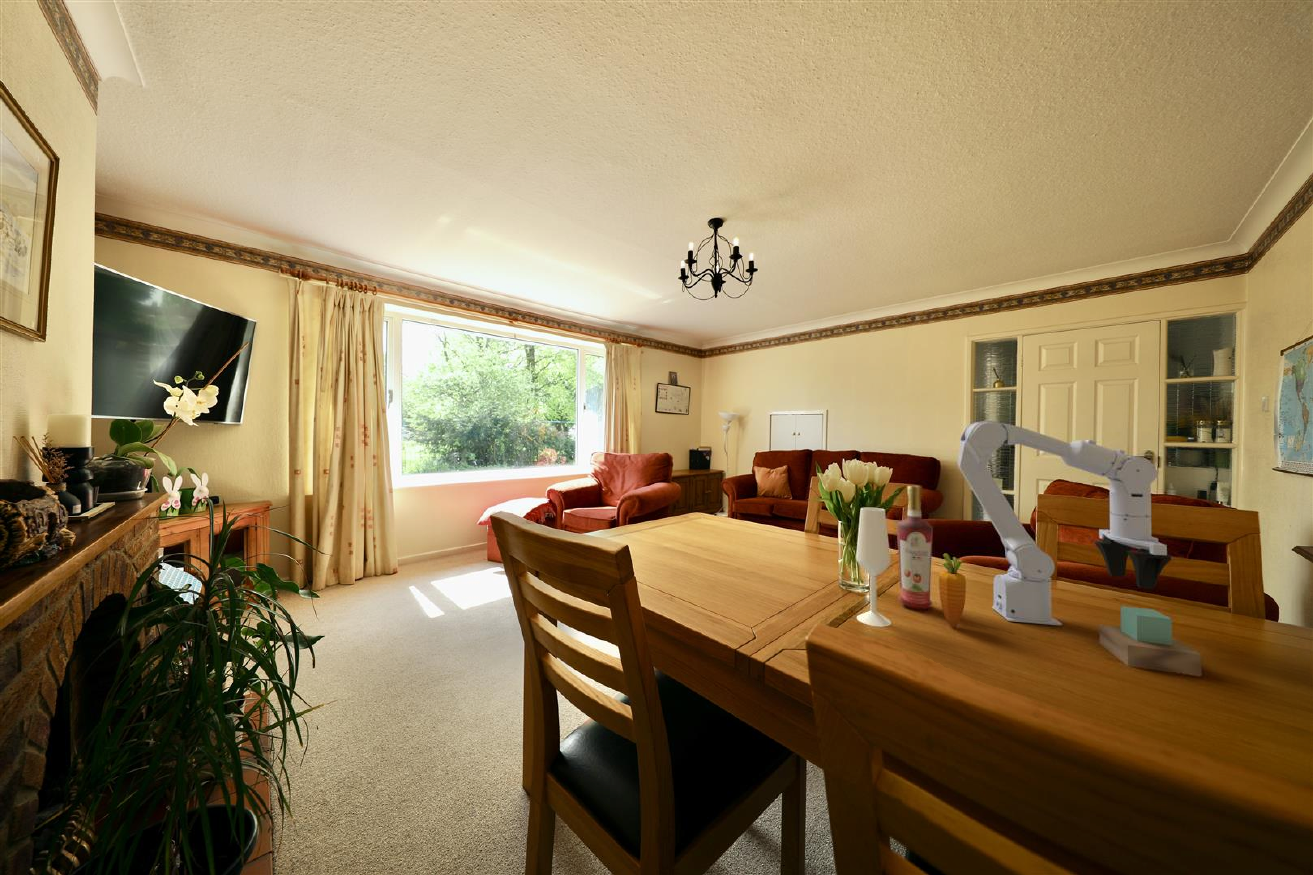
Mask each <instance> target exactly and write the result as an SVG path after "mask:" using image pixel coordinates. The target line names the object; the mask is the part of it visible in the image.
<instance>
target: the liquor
mask: <svg viewBox="0 0 1313 875" xmlns="http://www.w3.org/2000/svg"><path fill="white" fill-rule="evenodd" d="M921 489H922V487H921V486H919V485H907V497H908V503H907V504H908V505H907V512H906V513H907V516H906V518H905V519H903V520H900V521H899V522H897V523H896V535H897V537H896V538H897V539H896V540H897V553H898V565H899V566H898V567H899V585H900V587H899V588H900V591H899V592H900V593H899V596H898V598H897V599H898V600H899V601H900V602H901V603H902V604H903V605H904V606H905V607H906V608H909V609H912V610H916V611H924V610H927V609H928V608H929V607H931V606H932V605H933V601H932V600H931V577H932V576H931V574H932V573H931V571H932V570H931V569H932V556H933V535H934V534H933V533H934V531H933V529H934V527H933V525H932V524H930V523H929V522H927V521H926V520H925V521H924V520H923V519H922V518H923V517H922V509H921V495H922V493H921Z"/></svg>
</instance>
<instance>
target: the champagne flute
mask: <svg viewBox="0 0 1313 875" xmlns="http://www.w3.org/2000/svg"><path fill="white" fill-rule="evenodd" d="M859 511H860V512H859V521H858V522H859V523H858V532H857V542H856V544H857V545H856V552H855V553H856V556H855V560H856V562H857V564H858V565H859V566H860V567H861V569H863V571H864V572H865V573H867V574H868V575H869V576H870V577H869V578H870V580H869V581H870V582H869V583H870V584H869V586H870V587H869V588H870V590H869V591H870V592H869V594H870V595H869V596H870V598H869V599H870V600H869V601H870V610H869V611H867V612H863V613H861V614H859V615H857V616H856V619H857V621H859V622H860V623H862V624H864V625H868V626H872V627H882V628H883V627H888V626H890V625H891V624H892V622H891V620H890V619H889V618H886V616H884V615H883V614H881V613H879V612H878V611H877V576H879V575H881V574H882V573H883V572H884V571H886V570H887V569H888V568H889V567H890V565H891V553H890V552H891V551H890V543H889V536H888V527H887V517H886V509H884V508H879V507H869V506H868V507H861V508H860V510H859Z"/></svg>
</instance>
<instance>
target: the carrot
mask: <svg viewBox="0 0 1313 875" xmlns="http://www.w3.org/2000/svg"><path fill="white" fill-rule="evenodd" d="M942 556H943V558H944V559H945V562H942V563H941V564H942V565H943V566H944V568H946V570H943V571H941V572H940V573H939V576H938V586H939V587H938V589H939V599H940V605H941V609H942V612H943V615H944V617H945V620H946V621H947V623H948V625H949V626H950V627H951V628H953V629H954V628H955V627H957V626H958V624H959V622H960V620H961V619H962V616H963V614H964V609H965V604H966V592H967V591H966V590H967V585H966V584H967V581H966V576H965V575H964V574H962V573H960V572H958V570H959V568H960V566H961V565H962V564H963V560H961V559H959V560H958V558H957V557H955V556H954V557H952V559H951V557H950V555H949V554H948V553H944V554H943V555H942Z"/></svg>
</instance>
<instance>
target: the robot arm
mask: <svg viewBox="0 0 1313 875" xmlns="http://www.w3.org/2000/svg"><path fill="white" fill-rule="evenodd" d="M1011 445H1013V446H1014V445H1020V446H1022V447H1023V446H1024V447H1027V448H1031V449H1033V450H1038V451H1042V452H1044V453H1048V454H1051V455H1055V456H1058V457H1060V458H1061V459H1062V461H1063V462H1064V464H1065V465H1066V466H1069V467H1072V468H1076V469H1079V470H1081V471H1084V472H1087V473H1090V474H1093V475H1097V476H1101V477H1106V479H1108V480H1109V529H1102V528H1100V529H1098V530H1099V532H1098V537H1099V539H1101V540H1094V545H1095V546H1096V548H1098V550H1099V552H1100V554H1101V555H1102V557H1103V560H1104V563H1105V566H1106V569H1107V571H1108V574H1109V576H1110V577H1114V578H1116V577H1117V578H1125V575H1126V570H1127V562H1128V558H1130V560H1131V563H1132V565H1133V569H1134V575H1135V580H1136V581H1135V582H1136V585H1137V587H1138V588H1139V589H1142V590H1143V589H1145V590H1154V589H1155V587H1156V585H1157V581H1158V578H1159V577H1160V574H1161V573H1162V571H1163V569H1164V568H1165V566H1166V565H1168V563H1169V562H1170V561H1171V560H1172V555H1169V554H1168V550H1167V549H1168V548H1167V546H1168V545H1167V544H1164V543H1161V542H1159V538H1158V537H1154V536H1152V495H1151V484H1152V483H1153V482H1154V481H1155V480H1156V479H1157V478H1158V476H1159V470H1157V469H1156V467H1155V465H1154V464H1153V462H1151V461H1150V460H1149V459H1147V458H1145V457H1143V456H1135V455H1128V454H1126V450H1123V449H1111V448H1108V447H1105V446H1102V445H1098V444H1097V441H1095V440H1093V439H1085V440H1081V439H1080V440H1079V439H1078V440H1075V441H1072V442H1066V441H1064V440H1060V439H1057V438H1055V437H1051V436H1048V435H1046V434H1042V433H1040V432H1037V431H1033V430H1030V429H1028V428H1025V427H1022V426H1018V425H1013V424H1009V423H1003V422H1002V423H999V422H997V421H994V420H983V421H976V422H972V423H970V424H969V425H967V427H965V429H964V431H963V432H962V434H961V436H960V437H959V450H958V459H957V466H958V469H959V470H960V473H961V474H962V475H963V477H964V479H965V481H966V483H967V485H968V486H969V487H970V489H971V491H972V492H973V494H974V495H975V497H976V498H977V500H978V502H979V504H980V505H981V507H982V508H983V510H984V512H985V514H986V516H987V517H988V518H989V521H990V522H991V523H992V525H993V527H994V529H995V530H996V532H997V534H998V535H999V537H1000V541H1001V543H1002V545H1003V546H1004V550H1005V554H1004V555H1005V558H1006V560H1007V562H1008V564H1010V565H1011V566H1009V568H1008V569H1007V573H1005V574H996V575H994V578H993V588H992V589H993V590H992V591H993V605H992V606H991V608H992V609H993V610H994V611H996V612H997V613H998V614H999V615H1001V616H1002V617H1003V618H1004V619H1006V620H1007V621H1008V622H1018V623H1025V624H1027V623H1028V624H1039V625H1050V626H1060V627H1061V626H1062V624H1063V623H1062V622H1061V621H1059V620H1058V619H1056V618H1054V617H1052V585H1051V584H1052V577H1051V576H1052V575H1053V574H1054V571H1055V569H1056V568H1055V563H1054V560H1053V559H1052V557H1051V556H1050V555H1049V554H1047V553H1046V552H1045V551H1042V549H1040V548H1039V546H1038V545H1037V543H1036V541H1035V540H1034V539H1033V538H1032V537H1031V535H1029V533H1028V532H1027V530H1026V529H1025V527H1024V526H1023V524H1022V523H1021V521H1020V520H1019V519H1020V518H1018V516H1017V514H1016V513H1015V511H1014V510H1013V507H1012V506H1011V504H1010V502H1008V500H1007V498H1006V496H1005V494H1004V493H1003V492H1002V490H1001V488H1000V487H999V485H998V484H997V483H996V482H997V481H996V480H995V479H994V477H993V476H992V474H991V472H990V471H989V469H988V467H987V465H988V463H989V461H990V459H991V457H992V456H993V453H994V452H996V451H997V450H998V449H999V448H1000V447H1001V446H1011ZM1132 548H1134V549H1136V550H1132ZM1137 549H1138V550H1137Z"/></svg>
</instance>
